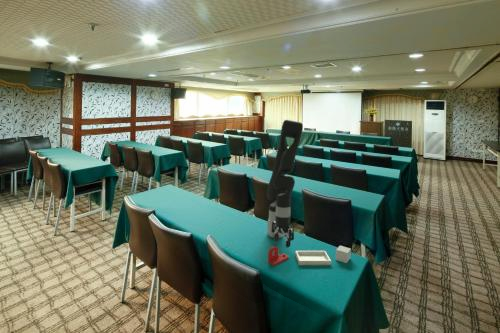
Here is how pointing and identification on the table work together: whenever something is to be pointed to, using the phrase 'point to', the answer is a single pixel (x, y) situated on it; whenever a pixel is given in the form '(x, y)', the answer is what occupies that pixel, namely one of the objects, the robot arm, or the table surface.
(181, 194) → the table surface
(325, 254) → the holder tray
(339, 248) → the white cube
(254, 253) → the table surface
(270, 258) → the bracket
